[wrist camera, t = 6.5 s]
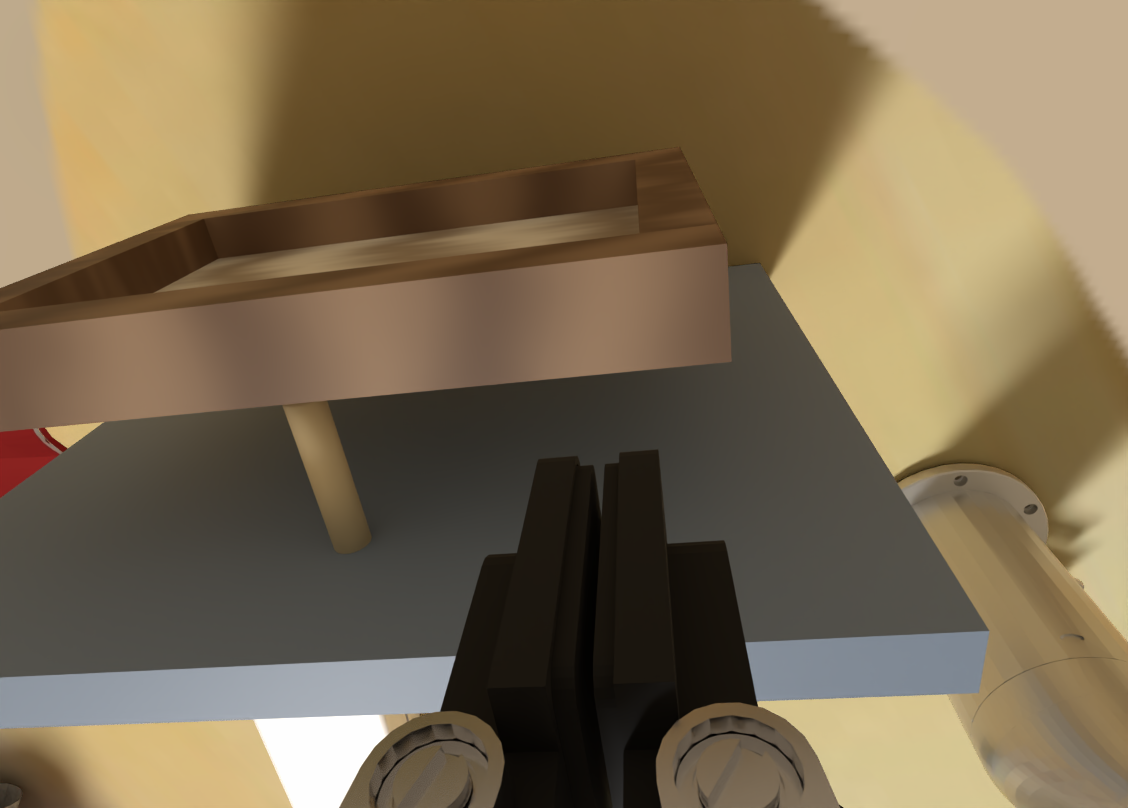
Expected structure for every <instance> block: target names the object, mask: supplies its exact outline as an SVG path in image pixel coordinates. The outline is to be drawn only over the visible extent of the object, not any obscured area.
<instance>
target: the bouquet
mask: <svg viewBox="0 0 1128 808" xmlns="http://www.w3.org/2000/svg"><path fill="white" fill-rule="evenodd" d="M21 796H22V790H21V789H20V788H19V787H18V786H15V785H12V784H8V783H0V808H18V806H19V803H20V798H21Z"/></svg>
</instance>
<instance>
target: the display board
mask: <svg viewBox="0 0 1128 808" xmlns="http://www.w3.org/2000/svg"><path fill="white" fill-rule="evenodd" d="M728 279H729V305H730V330H731V356H732V362H725V363H714V364H704V365H693V366H683V367H672V368H662V369H651V370H641V371H631V372H620V373H610V374H599V375H589V376H578V377H568V378H557V379H547V380H537V381H526V382H516V383H505V384H495V385H484V386H474V387H463V388H453V389H443V390H432V391H422V392H411V393H401V394H390V395H380V396H369V397H359V398H349V399H338V400H328V401H317V402H307V403H296V404H286V405H275V406H265V407H255V408H244V409H234V410H223V411H213V412H202V413H192V414H181V415H171V416H161V417H150V418H140V419H129V420H119V421H108V422H104V423H102V424H101V425H100V426H98V427H97V428H96V429H94V430H93V431H92V432H90V433H89V434H87V435H86V436H85V437H83V438H82V439H81V440H79V441H78V442H76V443H75V444H74V445H72V446H71V447H70V448H68V449H67V450H65V451H64V452H63V453H61V454H60V455H59V456H57V457H56V458H55V459H53V460H52V461H50V462H49V463H48V464H46V465H45V466H44V467H42V468H41V469H39V470H38V471H37V472H35V473H34V474H33V475H31V476H30V477H28V478H27V479H26V480H24V481H23V482H22V483H20V484H19V485H18V486H16V487H15V488H13V489H12V490H11V491H9V492H8V493H7V494H5V495H4V496H2V497H1V498H0V729H4V728H32V727H59V726H87V725H114V724H142V723H169V722H197V721H224V720H252V719H279V718H307V717H335V716H362V715H390V714H417V713H433V712H440V710H441V706H442V703H443V699H444V696H445V692H446V689H447V685H448V682H449V678H450V675H451V671H452V668H453V664H454V661H455V657H456V654H457V650H458V647H459V643H460V640H461V636H462V633H463V629H464V626H465V622H466V619H467V615H468V612H469V609H470V605H471V602H472V598H473V595H474V591H475V588H476V584H477V581H478V577H479V574H480V570H481V567H482V564H483V561H484V559H485V557H487V556H488V555H491V554H508V553H517V550H518V546H519V541H520V537H521V532H522V528H523V523H524V519H525V514H526V510H527V505H528V501H529V496H530V492H531V487H532V483H533V479H534V474H535V470H536V465H537V462H538V459H543V458H556V457H568V456H578V458H579V462H580V466H584V465H593V466H594V469H595V475H596V482H597V489H598V496H599V503H600V510H601V517H602V500H603V483H604V467H605V464H609V463H619V453H620V452H630V451H643V450H655V449H658V451H659V460H660V471H661V481H662V492H663V502H664V513H665V523H666V534H667V544H670V543H686V542H702V541H718V540H724V541H725V543H726V547H727V552H728V557H729V562H730V567H731V572H732V577H733V582H734V587H735V592H736V598H737V603H738V608H739V613H740V618H741V623H742V628H743V633H744V638H745V643H746V648H747V653H748V659H749V664H750V669H751V674H752V679H753V684H754V689H755V694H756V699H757V701H775V700H802V699H830V698H857V697H885V696H912V695H940V694H967V693H979V689H980V684H981V678H982V672H983V666H984V660H985V654H986V649H987V643H988V637H989V629H988V628H987V626H986V625H985V623H984V621H983V620H982V618H981V616H980V615H979V613H978V612H977V610H976V608H975V607H974V605H973V604H972V602H971V600H970V599H969V597H968V596H967V594H966V592H965V591H964V589H963V588H962V586H961V584H960V583H959V581H958V580H957V578H956V576H955V575H954V573H953V572H952V570H951V568H950V567H949V565H948V564H947V562H946V560H945V559H944V557H943V556H942V554H941V552H940V551H939V549H938V548H937V546H936V544H935V543H934V541H933V540H932V538H931V536H930V535H929V533H928V532H927V530H926V528H925V527H924V525H923V524H922V522H921V520H920V519H919V517H918V516H917V514H916V512H915V511H914V509H913V508H912V506H911V504H910V503H909V501H908V500H907V498H906V496H905V495H904V493H903V492H902V490H901V488H900V487H899V485H898V484H897V482H896V480H895V479H894V477H893V476H892V474H891V472H890V471H889V469H888V468H887V466H886V464H885V463H884V461H883V460H882V458H881V456H880V455H879V453H878V452H877V450H876V448H875V447H874V445H873V443H872V442H871V440H870V439H869V437H868V435H867V434H866V432H865V431H864V429H863V427H862V426H861V424H860V423H859V421H858V419H857V418H856V416H855V415H854V413H853V411H852V410H851V408H850V407H849V405H848V403H847V402H846V400H845V399H844V397H843V395H842V394H841V392H840V391H839V389H838V387H837V386H836V384H835V383H834V381H833V379H832V378H831V376H830V375H829V373H828V371H827V370H826V368H825V367H824V365H823V363H822V362H821V360H820V359H819V357H818V355H817V354H816V352H815V351H814V349H813V347H812V346H811V344H810V343H809V341H808V339H807V338H806V336H805V335H804V333H803V331H802V330H801V328H800V327H799V325H798V323H797V322H796V320H795V319H794V317H793V315H792V314H791V312H790V311H789V309H788V307H787V306H786V304H785V303H784V301H783V299H782V298H781V296H780V295H779V293H778V291H777V290H776V288H775V287H774V285H773V283H772V282H771V280H770V278H769V277H768V275H767V274H766V272H765V270H764V269H763V267H762V266H761V264H760V263H756V264H747V265H739V266H730V267H728Z"/></svg>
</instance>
